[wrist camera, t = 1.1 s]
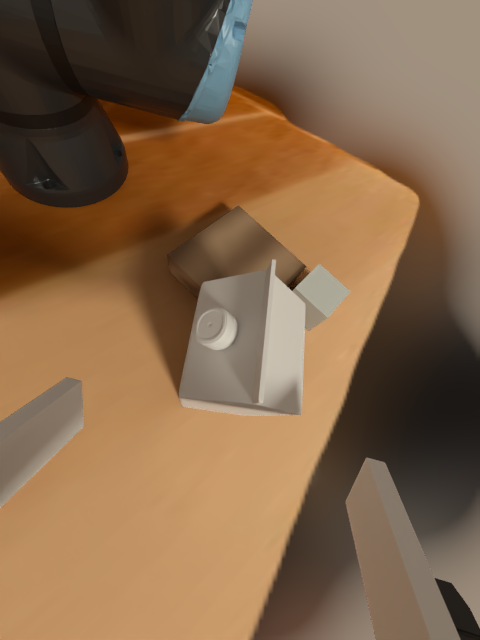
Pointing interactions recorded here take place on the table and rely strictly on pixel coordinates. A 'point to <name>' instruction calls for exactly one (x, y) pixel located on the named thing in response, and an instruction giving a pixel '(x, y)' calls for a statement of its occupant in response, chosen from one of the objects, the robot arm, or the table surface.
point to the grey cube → (320, 295)
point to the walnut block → (231, 253)
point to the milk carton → (246, 347)
